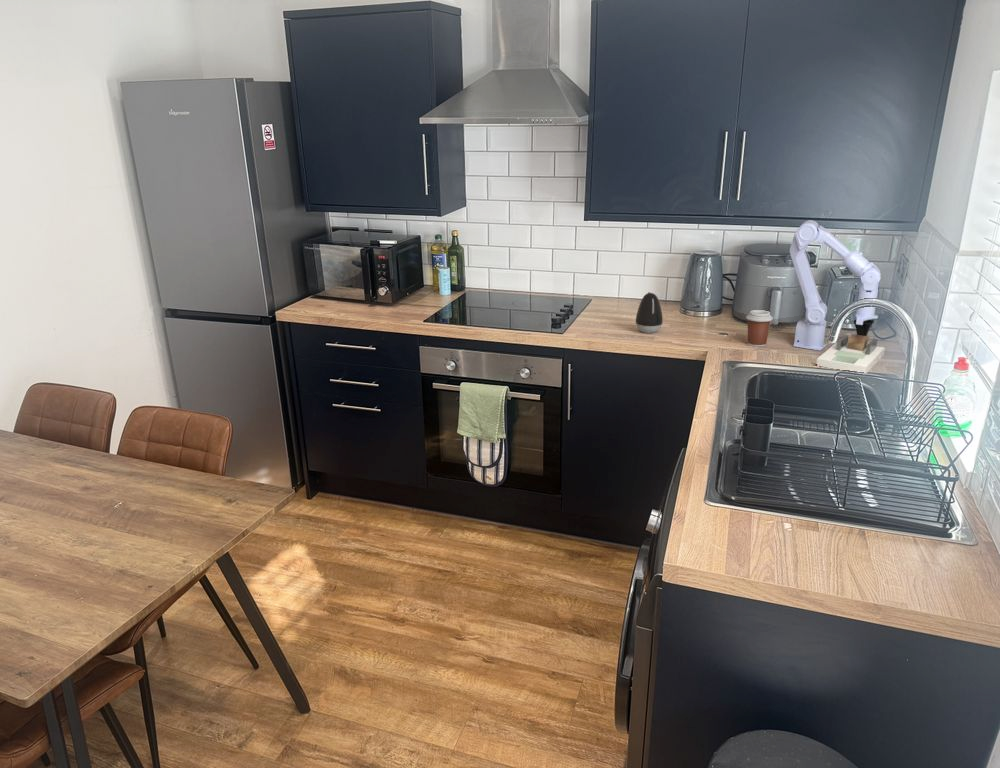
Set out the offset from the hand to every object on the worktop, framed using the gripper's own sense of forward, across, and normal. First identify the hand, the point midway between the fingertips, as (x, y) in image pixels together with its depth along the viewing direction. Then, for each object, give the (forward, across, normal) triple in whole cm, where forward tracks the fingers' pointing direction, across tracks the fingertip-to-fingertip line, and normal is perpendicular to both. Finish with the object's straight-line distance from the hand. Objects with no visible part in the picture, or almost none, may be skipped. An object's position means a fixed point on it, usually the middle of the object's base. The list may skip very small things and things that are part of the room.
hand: (861, 340), depth 254 cm
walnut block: (+2, -5, 0) cm, 5 cm away
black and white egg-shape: (+4, -17, +72) cm, 74 cm away
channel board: (+4, -12, 0) cm, 12 cm away
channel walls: (+1, -6, 0) cm, 6 cm away
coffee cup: (+4, -11, +32) cm, 34 cm away
